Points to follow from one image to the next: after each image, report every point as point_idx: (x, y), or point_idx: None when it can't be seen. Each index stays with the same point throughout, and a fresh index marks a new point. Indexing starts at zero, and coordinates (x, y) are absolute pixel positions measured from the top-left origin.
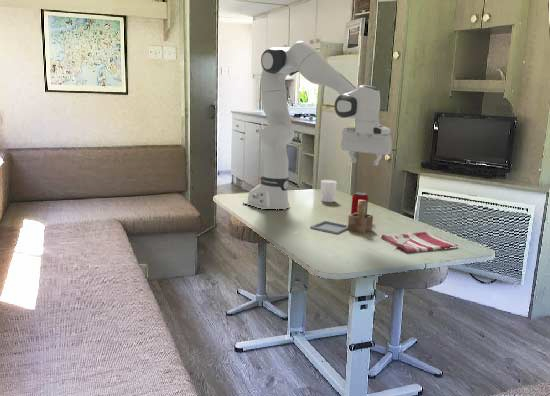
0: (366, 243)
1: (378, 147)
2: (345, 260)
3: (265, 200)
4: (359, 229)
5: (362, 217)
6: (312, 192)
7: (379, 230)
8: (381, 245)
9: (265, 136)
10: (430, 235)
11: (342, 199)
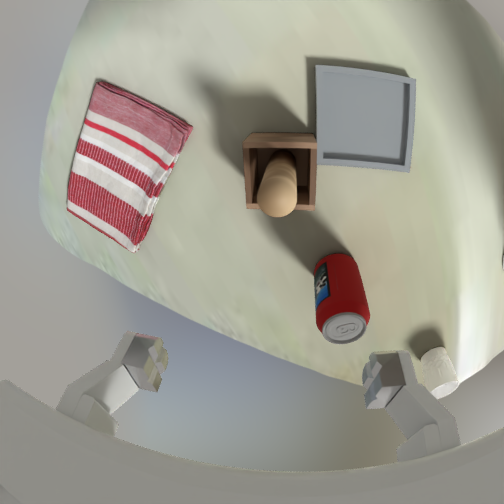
0: (204, 61)
1: (23, 463)
2: None
3: None
4: (269, 134)
5: (268, 164)
6: (458, 375)
7: (241, 211)
8: (165, 80)
9: None
10: (124, 238)
11: None
